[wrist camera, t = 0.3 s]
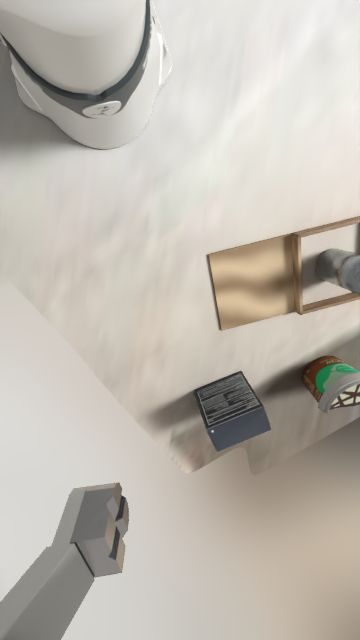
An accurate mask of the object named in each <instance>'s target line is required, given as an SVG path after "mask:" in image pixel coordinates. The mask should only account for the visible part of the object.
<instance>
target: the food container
mask: <svg viewBox="0 0 360 640" xmlns="http://www.w3.org/2000/svg"><path fill="white" fill-rule="evenodd" d="M302 382H303V383H304V384H305V386H306V387H307V388H308V390H309V391H310V392H311V394H312V395H313V397H314V398H315V399H316V401H317V402H318V403H319V404H318V408H319V409H320V410H321V411H323V412H325V413H326V414H327V415H328V413H329V410H331V409H334V408H339V407H348V406H356V405H359V404H360V372H359V371H357V370H356V369H354V368H353V367H351V366H349V365H348V364H346V363H345V362H343V361H341V360H340V359H338V358H336V357H334V356H323V357H320V358H317V359H316V360H314V361H313V362H311V363H310V364H309V365H308V366H307V368H306V369H305V371H304V373H303V375H302Z"/></svg>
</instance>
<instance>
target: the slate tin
mask: <svg viewBox="0 0 360 640" xmlns="http://www.w3.org/2000/svg"><path fill="white" fill-rule="evenodd" d="M315 272H316V275H317V276H318V277H319V278H320V279H322V280H325V281H327V282H330V283H332V284H335V285H337V286H340V287H342V288H345V289H347V290H350V291H352V292H355V293H357V294H360V254H357V253H352V252H348V251H343V250H339V249H329V250H326V251H325V252H323V253H322V254H321V255H320V256H319V258H318V259H317V261H316V264H315Z"/></svg>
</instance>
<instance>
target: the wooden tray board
mask: <svg viewBox="0 0 360 640" xmlns="http://www.w3.org/2000/svg"><path fill="white" fill-rule="evenodd" d="M356 223H360V216H359V217H355V218H351V219H347V220H343V221H339V222H335V223H331V224H327V225H323V226H319V227H315V228H311V229H307V230H303V231H299V232H295V233H291V234H287V235H283V236H279V237H275V238H271V239H267V240H263V241H259V242H255V243H251V244H247V245H243V246H239V247H235V248H231V249H227V250H223V251H219V252H215V253H211V254H208V255H209V261H210V267H211V273H212V279H213V285H214V290H215V296H216V302H217V308H218V314H219V320H220V326H221V330H226V329H230V328H234V327H237V326H241V325H245V324H249V323H252V322H256V321H260V320H264V319H268V318H271V317H275V316H279V315H283V314H286V313H290V312H294V311H295V312H297V313H298V314H300V315H302V314H306V313H309V312H313V311H317V310H321V309H324V308H328V307H332V306H336V305H339V304H343V303H347V302H351V301H355V300H358V299H360V294H357V293H355V292H353V293H349V294H345V295H341V296H337V297H334V298H330V299H326V300H322V301H318V302H315V303H311V304H307V305H303V302H302V264H301V237H305V236H309V235H313V234H316V233H320V232H324V231H328V230H332V229H336V228H340V227H344V226H348V225H352V224H356Z"/></svg>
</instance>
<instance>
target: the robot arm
mask: <svg viewBox="0 0 360 640" xmlns="http://www.w3.org/2000/svg"><path fill="white" fill-rule="evenodd" d="M0 38H1V41H2V43H3V45H4V46H5V47H8V49H9V53H10V57H11V62H12V65H11V69H12V71H13V73H14V77H15V82H16V86H17V91H18V95H19V97H20V99H21V100H22V101H23V103H24V104H25V105H26V106H28V107H29V108H31V109H32V110H34V111H36V112H38V113H41V114H43V115H45V116H47V117H49V118H50V119H51V120H52V121H53V122H54V123H55V124H56V125H57V126H58V127H59V128H61V129H62V130H63V131H64V132H65V133H66V134H67V135H68V136H70V137H71V138H73V139H74V140H76V141H78V142H79V143H81V144H84V145H86V146H89V147H93V148H98V149H112V148H117V147H120V146H123V145H125V144H127V143H128V142H130V141H132V140H133V139H134V138H135V137H137V136H138V135H139V134H140V132H141V131H142V130H143V129H144V127H145V126H146V124H147V122H148V120H149V118H150V116H151V113H152V110H153V107H154V103H155V100H156V97H157V94H158V92H159V91H160V89H161V88H162V87H163V86H164V84H165V83H166V82H167V80H168V79H169V77H170V75H171V73H172V60H171V56H170V53H169V50H168V47H167V44H166V41H165V38H164V35H163V32H162V29H161V26H160V23H159V20H158V17H157V14H156V11H155V8H154V5H153V2H152V0H0ZM121 492H122V487H121V486H120V483H112V484H104V485H96V486H88V487H81V488H74V489H73V490H72V492H71V493H70V495H69V498H68V501H67V503H66V506H65V509H64V512H63V515H62V518H61V520H60V523H59V526H58V529H57V532H56V535H55V537H54V541H53V543H52V546H50V547H46V549H45V550H44V551H43V552H42V554H41V555H40V556H39V557H38V558H37V559H36V560H35V562H34V563H33V564H32V565H31V566H30V568H29V569H28V570H27V571H26V572H25V574H24V575H23V576H22V577H21V578H20V580H19V581H18V582H17V583H16V585H15V586H14V587H13V588H12V589H11V590H10V591H9V593H8V594H7V595H6V596H5V597H4V599H3V600H2V601H1V602H0V640H61V638H62V636H63V635H64V633H65V631H66V629H67V628H68V626H69V624H70V622H71V621H72V619H73V617H74V615H75V613H76V612H77V610H78V608H79V606H80V605H81V603H82V601H83V599H84V598H85V596H86V594H87V592H88V591H89V589H90V587H91V585H92V583H93V582H94V577H99V576H106V575H112V574H117V573H122V568H123V561H124V553H125V544H124V542H123V540H122V538H123V536H124V535H125V533H126V532H127V530H128V522H129V508H128V503H127V500H126V498H125V497H124V496H122V495H121Z"/></svg>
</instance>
